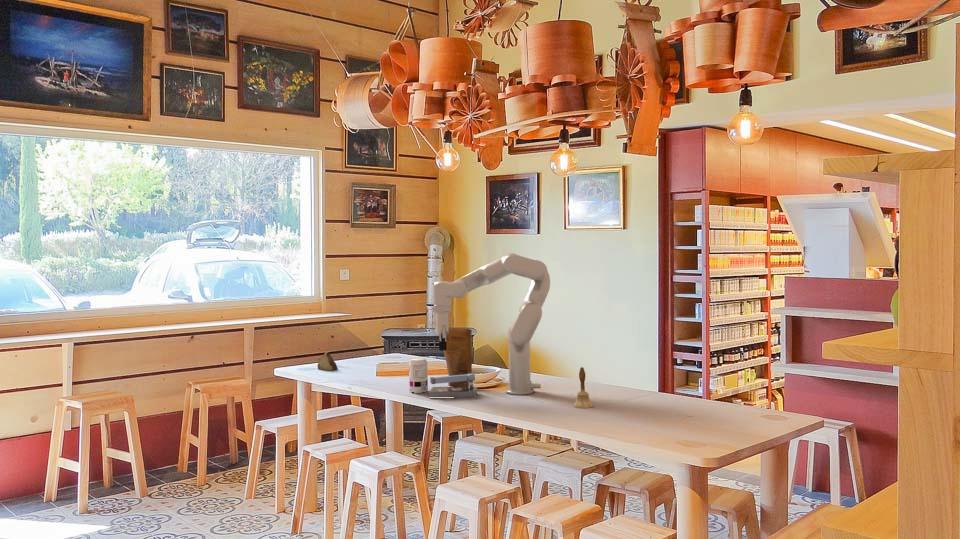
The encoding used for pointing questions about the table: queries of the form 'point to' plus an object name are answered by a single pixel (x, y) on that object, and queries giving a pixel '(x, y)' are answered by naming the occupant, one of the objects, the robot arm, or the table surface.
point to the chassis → (454, 391)
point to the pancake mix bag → (459, 354)
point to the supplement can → (418, 375)
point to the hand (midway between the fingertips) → (442, 350)
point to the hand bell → (582, 393)
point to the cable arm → (452, 378)
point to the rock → (327, 362)
